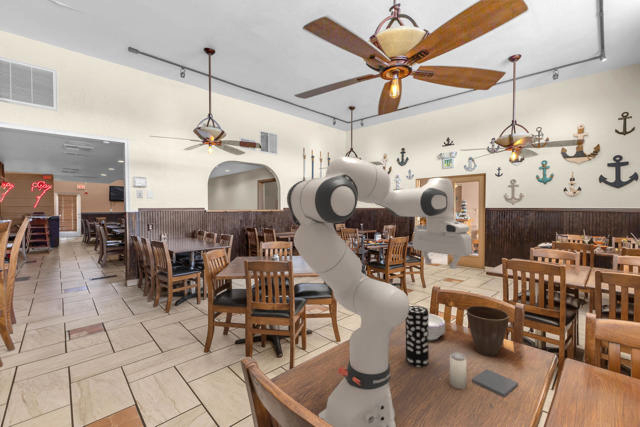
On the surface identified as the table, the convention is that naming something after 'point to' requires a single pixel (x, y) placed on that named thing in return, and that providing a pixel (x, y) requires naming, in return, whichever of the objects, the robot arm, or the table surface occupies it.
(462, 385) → the shaker
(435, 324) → the paper bowls
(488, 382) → the plate
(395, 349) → the table surface
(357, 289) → the robot arm
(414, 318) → the spotted tube
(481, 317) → the plant pot
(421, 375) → the table surface
